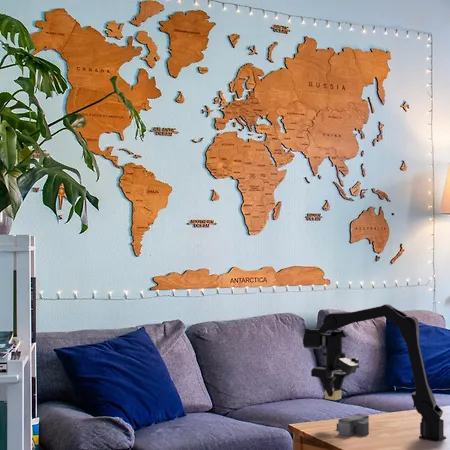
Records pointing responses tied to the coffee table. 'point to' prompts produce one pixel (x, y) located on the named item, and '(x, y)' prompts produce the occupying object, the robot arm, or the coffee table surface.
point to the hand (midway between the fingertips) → (333, 395)
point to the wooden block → (334, 394)
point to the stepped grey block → (360, 428)
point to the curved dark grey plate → (350, 424)
